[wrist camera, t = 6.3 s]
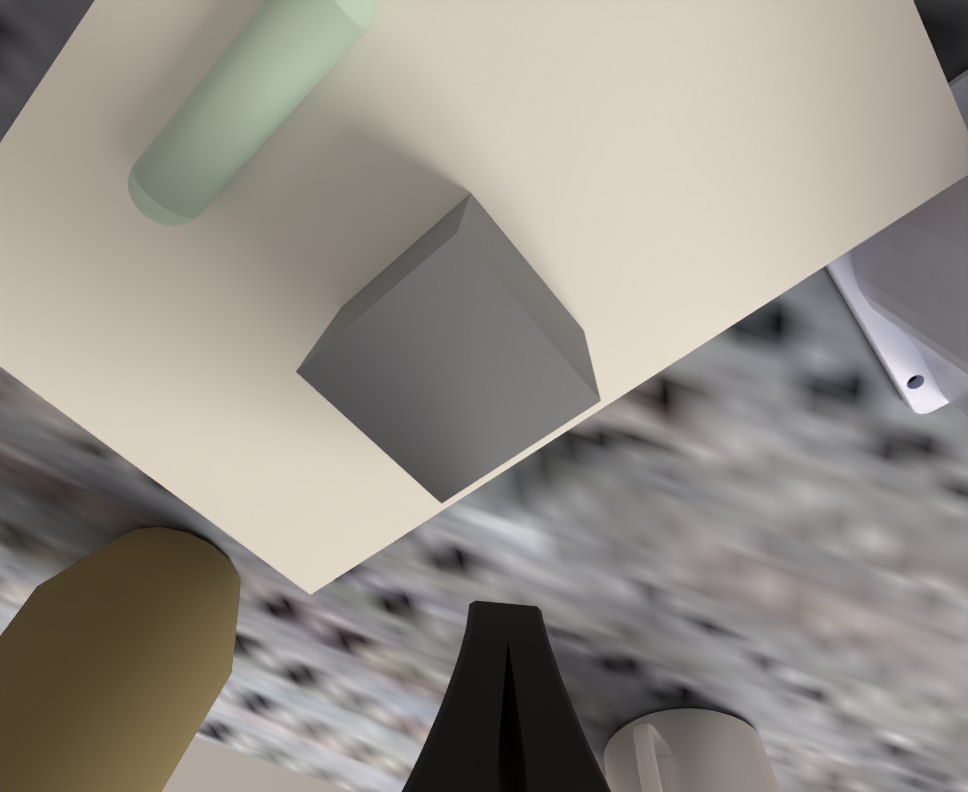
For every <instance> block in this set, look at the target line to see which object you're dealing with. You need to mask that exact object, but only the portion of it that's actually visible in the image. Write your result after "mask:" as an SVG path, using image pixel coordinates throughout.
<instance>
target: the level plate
mask: <svg viewBox="0 0 968 792" xmlns="http://www.w3.org/2000/svg"><path fill="white" fill-rule="evenodd" d="M967 175H968V130H967V128H966V125H965V123H964V121H963V118H962V116H961V113H960V111H959V109H958V106H957V104H956V101H955V99H954V97H953V94H952V92H951V90H950V87H949V85H948V82H947V80H946V78H945V75H944V73H943V70H942V68H941V66H940V63H939V61H938V59H937V56H936V54H935V51H934V49H933V47H932V44H931V42H930V39H929V37H928V35H927V32H926V30H925V28H924V25H923V23H922V20H921V18H920V16H919V13H918V11H917V8H916V6H915V4H914V1H913V0H95V1H94V2H93V4H92V5H91V7H90V8H89V10H88V11H87V13H86V14H85V16H84V17H83V19H82V20H81V22H80V23H79V25H78V26H77V28H76V29H75V31H74V32H73V34H72V35H71V37H70V38H69V40H68V41H67V43H66V44H65V46H64V47H63V49H62V50H61V52H60V53H59V55H58V56H57V58H56V59H55V61H54V62H53V64H52V65H51V67H50V68H49V70H48V71H47V73H46V74H45V76H44V77H43V79H42V80H41V82H40V83H39V85H38V86H37V88H36V89H35V91H34V93H33V94H32V96H31V97H30V99H29V100H28V102H27V103H26V105H25V106H24V108H23V109H22V111H21V112H20V114H19V115H18V117H17V118H16V120H15V121H14V123H13V124H12V126H11V127H10V129H9V130H8V132H7V133H6V135H5V136H4V138H3V139H2V141H1V142H0V367H2V368H3V369H4V370H6V371H7V372H8V373H10V374H11V375H13V376H14V377H15V378H17V379H18V380H19V381H21V382H22V383H23V384H25V385H26V386H28V387H29V388H30V389H32V390H33V391H34V392H36V393H37V394H38V395H40V396H41V397H42V398H44V399H45V400H47V401H48V402H49V403H51V404H52V405H53V406H55V407H56V408H57V409H59V410H60V411H61V412H63V413H64V414H66V415H67V416H68V417H70V418H71V419H72V420H74V421H75V422H76V423H78V424H79V425H80V426H82V427H83V428H85V429H86V430H87V431H89V432H90V433H91V434H93V435H94V436H95V437H97V438H98V439H99V440H101V441H102V442H104V443H105V444H106V445H108V446H109V447H110V448H112V449H113V450H114V451H116V452H117V453H119V454H120V455H121V456H123V457H124V458H125V459H127V460H128V461H129V462H131V463H132V464H133V465H135V466H136V467H138V468H139V469H140V470H142V471H143V472H144V473H146V474H147V475H148V476H150V477H151V478H152V479H154V480H155V481H157V482H158V483H159V484H161V485H162V486H163V487H165V488H166V489H167V490H169V491H170V492H171V493H173V494H174V495H176V496H177V497H178V498H180V499H181V500H182V501H184V502H185V503H186V504H188V505H189V506H191V507H192V508H193V509H195V510H196V511H197V512H199V513H200V514H201V515H203V516H204V517H205V518H207V519H208V520H210V521H211V522H212V523H214V524H215V525H216V526H218V527H219V528H220V529H222V530H223V531H224V532H226V533H227V534H229V535H230V536H231V537H233V538H234V539H235V540H237V541H238V542H239V543H241V544H242V545H243V546H245V547H246V548H248V549H249V550H250V551H252V552H253V553H254V554H256V555H257V556H258V557H260V558H261V559H262V560H264V561H265V562H267V563H268V564H269V565H271V566H272V567H273V568H275V569H276V570H277V571H279V572H280V573H282V574H283V575H284V576H286V577H287V578H288V579H290V580H291V581H292V582H294V583H295V584H296V585H298V586H299V587H301V588H302V589H303V590H305V591H306V592H307V593H309V594H310V595H311V594H312V593H314V592H315V591H317V590H318V589H320V588H322V587H323V586H325V585H326V584H328V583H329V582H331V581H333V580H334V579H336V578H337V577H339V576H340V575H342V574H343V573H345V572H347V571H348V570H350V569H351V568H353V567H354V566H356V565H358V564H359V563H361V562H362V561H364V560H365V559H367V558H369V557H370V556H372V555H373V554H375V553H376V552H378V551H379V550H381V549H383V548H384V547H386V546H387V545H389V544H390V543H392V542H394V541H395V540H397V539H398V538H400V537H401V536H403V535H405V534H406V533H408V532H409V531H411V530H412V529H414V528H415V527H417V526H419V525H420V524H422V523H423V522H425V521H426V520H428V519H430V518H431V517H433V516H434V515H436V514H437V513H439V512H441V511H442V510H444V509H445V508H447V507H448V506H450V505H452V504H453V503H455V502H456V501H458V500H459V499H461V498H462V497H464V496H466V495H467V494H469V493H470V492H472V491H473V490H475V489H477V488H478V487H480V486H481V485H483V484H484V483H486V482H488V481H489V480H491V479H492V478H494V477H495V476H497V475H498V474H500V473H502V472H503V471H505V470H506V469H508V468H509V467H511V466H513V465H514V464H516V463H517V462H519V461H520V460H522V459H524V458H525V457H527V456H528V455H530V454H531V453H533V452H534V451H536V450H538V449H539V448H541V447H542V446H544V445H545V444H547V443H549V442H550V441H552V440H553V439H555V438H556V437H558V436H560V435H561V434H563V433H564V432H566V431H567V430H569V429H570V428H572V427H574V426H575V425H577V424H578V423H580V422H581V421H583V420H585V419H586V418H588V417H589V416H591V415H592V414H594V413H596V412H597V411H599V410H600V409H602V408H603V407H605V406H606V405H608V404H610V403H611V402H613V401H614V400H616V399H617V398H619V397H621V396H622V395H624V394H625V393H627V392H628V391H630V390H632V389H633V388H635V387H636V386H638V385H639V384H641V383H642V382H644V381H646V380H647V379H649V378H650V377H652V376H653V375H655V374H657V373H658V372H660V371H661V370H663V369H664V368H666V367H668V366H669V365H671V364H672V363H674V362H675V361H677V360H678V359H680V358H682V357H683V356H685V355H686V354H688V353H689V352H691V351H693V350H694V349H696V348H697V347H699V346H700V345H702V344H704V343H705V342H707V341H708V340H710V339H711V338H713V337H715V336H716V335H718V334H719V333H721V332H722V331H724V330H725V329H727V328H729V327H730V326H732V325H733V324H735V323H736V322H738V321H740V320H741V319H743V318H744V317H746V316H747V315H749V314H751V313H752V312H754V311H755V310H757V309H758V308H760V307H761V306H763V305H765V304H766V303H768V302H769V301H771V300H772V299H774V298H776V297H777V296H779V295H780V294H782V293H783V292H785V291H787V290H788V289H790V288H791V287H793V286H794V285H796V284H797V283H799V282H801V281H802V280H804V279H805V278H807V277H808V276H810V275H812V274H813V273H815V272H816V271H818V270H819V269H821V268H823V267H824V266H826V265H827V264H829V263H830V262H832V261H833V260H835V259H837V258H838V257H840V256H841V255H843V254H844V253H846V252H848V251H849V250H851V249H852V248H854V247H855V246H857V245H859V244H860V243H862V242H863V241H865V240H866V239H868V238H869V237H871V236H873V235H874V234H876V233H877V232H879V231H880V230H882V229H884V228H885V227H887V226H888V225H890V224H891V223H893V222H895V221H896V220H898V219H899V218H901V217H902V216H904V215H905V214H907V213H909V212H910V211H912V210H913V209H915V208H916V207H918V206H920V205H921V204H923V203H924V202H926V201H927V200H929V199H931V198H932V197H934V196H935V195H937V194H938V193H940V192H942V191H943V190H945V189H946V188H948V187H949V186H951V185H952V184H954V183H956V182H957V181H959V180H960V179H962V178H963V177H965V176H967Z"/></svg>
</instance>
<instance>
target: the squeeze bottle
mask: <svg viewBox="0 0 968 792" xmlns="http://www.w3.org/2000/svg"><path fill="white" fill-rule="evenodd" d="M239 596H240V579H239V577H238V575H237V573H236V571H235V569H234V567H233V565H232V563H231V562H230V561H229V560H228V559H227V558H226V557H225V556H224V555H223V554H222V553H221V552H220V551H219V550H218V549H216V548H215V547H214V546H213V545H212V544H210V543H208V542H206V541H204V540H202V539H200V538H198V537H196V536H194V535H192V534H190V533H188V532H183V531H178V530H174V529H169V528H164V527H151V528H139V529H134V530H132V531H130V532H128V533H126V534H125V535H123V536H121V537H119V538H117V539H115V540H114V541H112V542H110V543H109V544H107V545H105V546H104V547H102V548H100V549H99V550H97V551H95V552H94V553H92V554H90V555H89V556H87V557H85V558H84V559H82V560H80V561H79V562H77V563H75V564H74V565H72V566H70V567H69V568H67V569H65V570H64V571H62V572H60V573H59V574H57V575H55V576H54V577H52V578H50V579H49V580H47V581H45V582H44V583H42V584H40V585H39V586H37V587H36V589H35V590H34V591H33V593H32V594H31V595H30V597H29V598H28V599H27V601H26V602H25V603H24V605H23V606H22V607H21V609H20V610H19V612H18V613H17V614H16V616H15V617H14V618H13V620H12V621H11V622H10V624H9V625H8V626H7V628H6V629H5V630H4V632H3V633H2V635H1V636H0V792H162V790H163V788H164V787H165V785H166V783H167V781H168V780H169V778H170V776H171V775H172V773H173V771H174V770H175V768H176V766H177V764H178V762H179V761H180V759H181V758H182V756H183V754H184V753H185V751H186V749H187V748H188V745H189V744H190V742H191V741H192V739H193V737H194V736H195V734H196V732H197V731H198V729H199V727H200V725H201V724H202V722H203V720H204V719H205V717H206V715H207V714H208V712H209V710H210V708H211V707H212V705H213V703H214V702H215V700H216V698H217V697H218V695H219V693H220V692H221V690H222V688H223V686H224V685H225V683H226V681H227V680H228V678H229V676H230V675H231V672H232V663H233V653H234V644H235V634H236V625H237V616H238V606H239Z"/></svg>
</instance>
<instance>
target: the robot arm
mask: <svg viewBox="0 0 968 792" xmlns="http://www.w3.org/2000/svg"><path fill="white" fill-rule="evenodd" d="M948 85H949V87H950V90H951V92H952V94H953V97H954V99H955V101H956V104H957V106H958V109H959V111H960V113H961V116H962V118H963V121H964V123H965V125H966V128H967V130H968V69H967V70H966V71H965V72H963V73H962V74H960V75H959V76H957V77H956V78H955V79H953V80H952V81H950V82H949V83H948ZM825 267H826V269H827V270H828V272H829V274H830V275H831V277H832V279H833V281H834V282H835V284H836V286H837V287H838V289H839V291H840V293H841V294H842V296H843V298H844V300H845V301H846V303H847V305H848V306H849V308H850V310H851V312H852V313H853V315H854V317H855V318H856V320H857V322H858V324H859V325H860V327H861V329H862V331H863V332H864V334H865V336H866V337H867V339H868V341H869V343H870V344H871V346H872V348H873V349H874V351H875V353H876V355H877V356H878V358H879V360H880V361H881V363H882V365H883V367H884V368H885V370H886V372H887V374H888V375H889V377H890V379H891V380H892V382H893V384H894V386H895V387H896V389H897V391H898V392H899V394H900V396H901V398H902V399H903V401H904V403H905V405H906V406H907V407H908V408H909V409H911V410H912V411H913V412H914V413H917V414H926V413H929V412H932V411H934V410H936V409H938V408H939V407H941V406H943V405H945V404H947V403H949V402H950V403H951V404H953V405H954V406H955V407H957V408H958V409H959V410H960V411H962V412H963V413H964V414H965V415H967V416H968V175H967V176H965V177H963V178H962V179H960V180H959V181H957V182H956V183H954V184H952V185H951V186H949V187H948V188H946V189H945V190H943V191H942V192H940V193H938V194H937V195H935V196H934V197H932V198H931V199H929V200H927V201H926V202H924V203H923V204H921V205H920V206H918V207H916V208H915V209H913V210H912V211H910V212H909V213H907V214H905V215H904V216H902V217H901V218H899V219H898V220H896V221H895V222H893V223H891V224H890V225H888V226H887V227H885V228H884V229H882V230H880V231H879V232H877V233H876V234H874V235H873V236H871V237H869V238H868V239H866V240H865V241H863V242H862V243H860V244H859V245H857V246H855V247H854V248H852V249H851V250H849V251H848V252H846V253H844V254H843V255H841V256H840V257H838V258H837V259H835V260H833V261H832V262H830V263H829V264H827V265H826V266H825ZM916 375H917V377H916V379H915V380H913V381H912V382H910V383H907V382H908V380H909V379H910V378H911V377H913V376H916ZM402 792H611V790H610V788H609V786H608V784H607V782H606V780H605V778H604V776H603V774H602V772H601V770H600V768H599V766H598V763H597V761H596V759H595V757H594V755H593V753H592V751H591V748H590V746H589V744H588V742H587V740H586V737H585V735H584V733H583V730H582V728H581V726H580V724H579V721H578V719H577V716H576V714H575V711H574V709H573V706H572V704H571V701H570V699H569V696H568V694H567V692H566V689H565V686H564V684H563V681H562V678H561V676H560V673H559V670H558V667H557V664H556V661H555V658H554V655H553V652H552V649H551V646H550V643H549V640H548V636H547V633H546V629H545V625H544V622H543V617H542V613H541V610H540V609H539V608H538V607H537V606H527V605H516V604H505V603H495V602H484V601H474V602H472V603H471V604H469V611H468V619H467V625H466V630H465V635H464V639H463V643H462V646H461V650H460V653H459V656H458V660H457V663H456V666H455V669H454V672H453V674H452V677H451V680H450V683H449V685H448V688H447V691H446V694H445V697H444V699H443V702H442V704H441V707H440V709H439V712H438V714H437V716H436V719H435V721H434V723H433V726H432V728H431V730H430V733H429V735H428V737H427V740H426V742H425V744H424V747H423V749H422V751H421V753H420V755H419V757H418V760H417V762H416V764H415V766H414V768H413V770H412V772H411V774H410V776H409V778H408V780H407V782H406V784H405V786H404V788H403V790H402Z"/></svg>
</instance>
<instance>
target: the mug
mask: <svg viewBox="0 0 968 792" xmlns="http://www.w3.org/2000/svg"><path fill="white" fill-rule="evenodd" d="M604 764H605V772H606V779H607V784H608V786H609V788H610V790H611V792H780V790H779V787H778V784H777V781H776V779H775V776H774V773H773V770H772V768H771V765H770V762H769V759H768V757H767V754H766V751H765V748H764V746H763V743H762V740H761V737H760V736H759V735H758V733H757V732H756V731H755V729H753V728H752V727H751V726H749V725H748V724H747V723H745V722H744V721H742V720H740V719H737V718H735V717H733V716H730V715H727V714H723V713H720V712H716V711H712V710H706V709H699V708H679V709H669V710H664V711H659V712H654V713H651V714H648V715H645V716H642V717H640V718H638V719H636V720H634V721H632V722H630V723H629V724H627V725H626V726H624V727H623V728H622V729H620V730H619V731H618V732H616V733H615V734H614V736H613V737H612V738H611V739H610V740H609V742H608V744H607V746H606V748H605V752H604Z"/></svg>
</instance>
